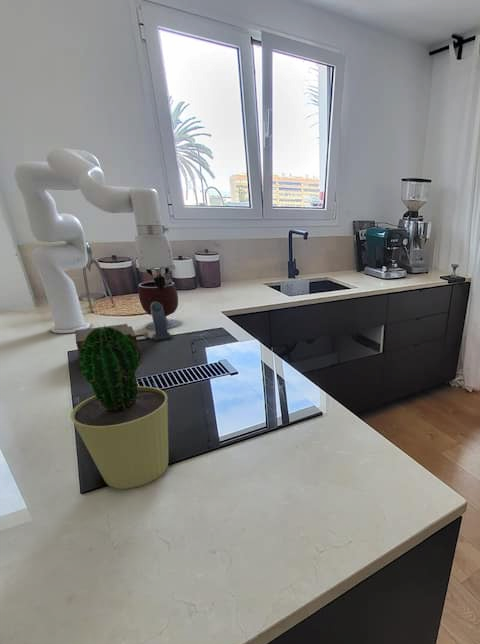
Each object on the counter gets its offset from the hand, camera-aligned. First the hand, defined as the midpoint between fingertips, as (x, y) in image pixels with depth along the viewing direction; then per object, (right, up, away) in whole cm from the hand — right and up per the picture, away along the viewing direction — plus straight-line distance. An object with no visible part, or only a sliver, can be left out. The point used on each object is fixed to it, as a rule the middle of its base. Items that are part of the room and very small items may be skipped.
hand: (160, 288), depth 131 cm
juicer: (-57, +1, +52) cm, 77 cm away
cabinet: (-16, -23, -2) cm, 28 cm away
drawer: (-13, -22, 0) cm, 25 cm away
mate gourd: (-14, -9, +31) cm, 36 cm away
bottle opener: (-8, -15, +17) cm, 24 cm away
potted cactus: (+22, -47, -53) cm, 74 cm away
